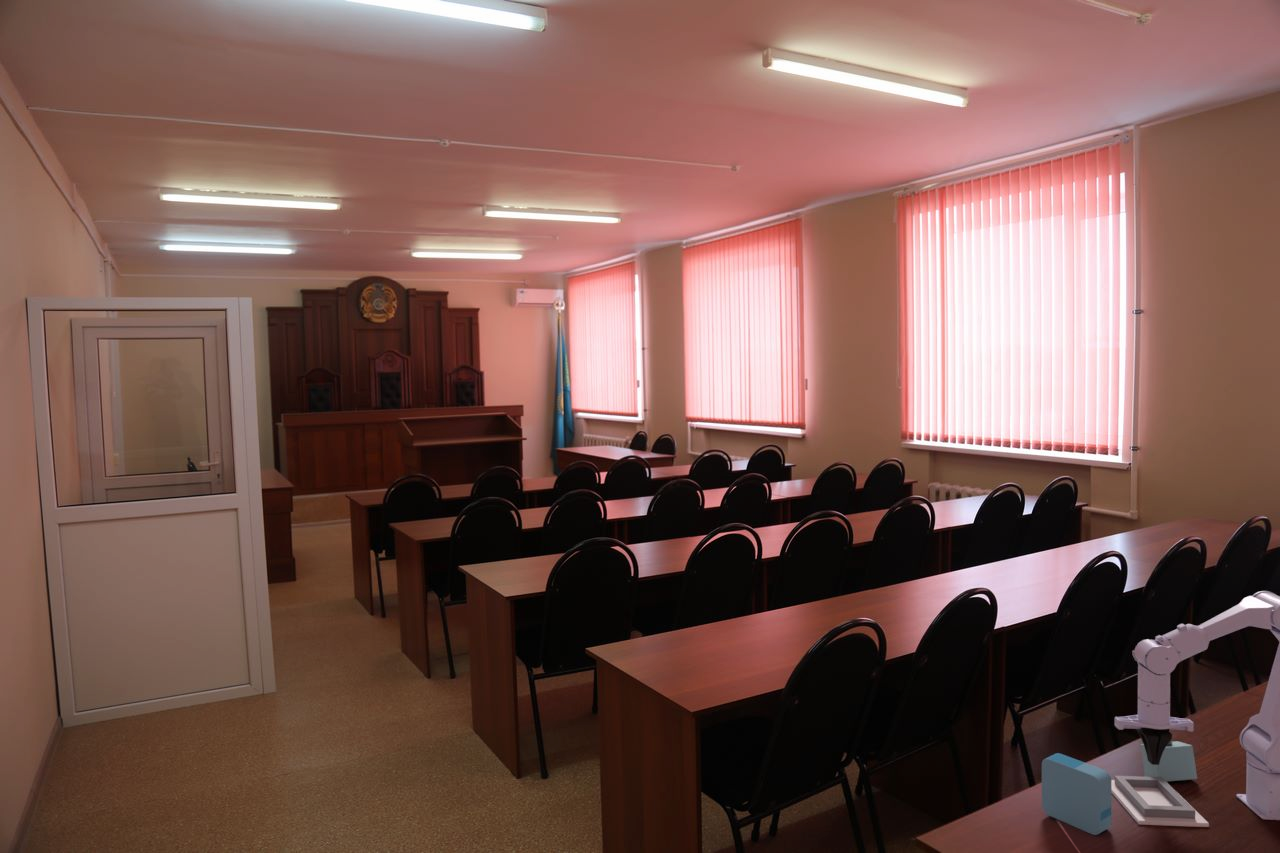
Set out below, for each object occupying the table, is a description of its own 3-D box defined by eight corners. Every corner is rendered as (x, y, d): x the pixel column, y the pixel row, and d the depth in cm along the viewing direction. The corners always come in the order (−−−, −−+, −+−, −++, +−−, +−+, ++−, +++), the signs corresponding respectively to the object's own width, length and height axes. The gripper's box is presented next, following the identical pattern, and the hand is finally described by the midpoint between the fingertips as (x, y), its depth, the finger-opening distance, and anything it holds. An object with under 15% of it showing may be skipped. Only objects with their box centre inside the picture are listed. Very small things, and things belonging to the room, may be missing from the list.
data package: (1111, 831, 164) (1112, 772, 164) (1099, 838, 162) (1100, 778, 161) (1053, 805, 174) (1053, 750, 174) (1041, 812, 172) (1041, 756, 171)
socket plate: (1208, 827, 165) (1208, 814, 165) (1138, 824, 166) (1138, 812, 166) (1166, 785, 182) (1166, 774, 181) (1103, 783, 183) (1103, 772, 183)
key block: (1197, 778, 182) (1191, 739, 183) (1159, 782, 181) (1153, 742, 182) (1182, 773, 186) (1176, 735, 188) (1144, 776, 186) (1139, 738, 187)
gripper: (1181, 692, 176) (1180, 754, 176) (1108, 691, 178) (1108, 752, 178) (1199, 705, 169) (1198, 770, 169) (1123, 703, 171) (1122, 768, 171)
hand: (1153, 762), depth 173 cm, fingers closed
